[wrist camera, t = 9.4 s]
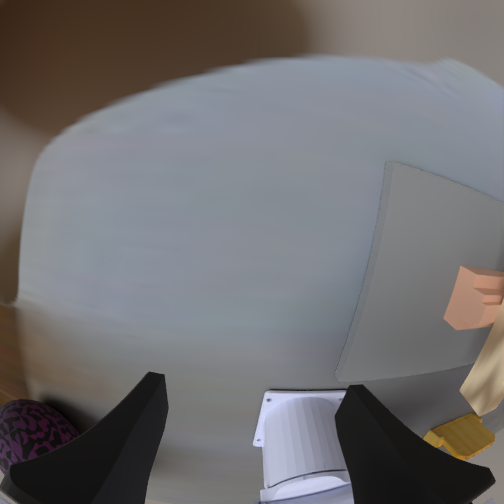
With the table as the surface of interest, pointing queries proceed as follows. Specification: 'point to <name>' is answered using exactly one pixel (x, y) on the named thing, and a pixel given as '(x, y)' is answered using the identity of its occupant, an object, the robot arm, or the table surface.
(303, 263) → the table surface
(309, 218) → the table surface
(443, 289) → the board
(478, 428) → the yellow toy chair
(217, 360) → the table surface
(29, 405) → the toy ball
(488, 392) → the pine batten
